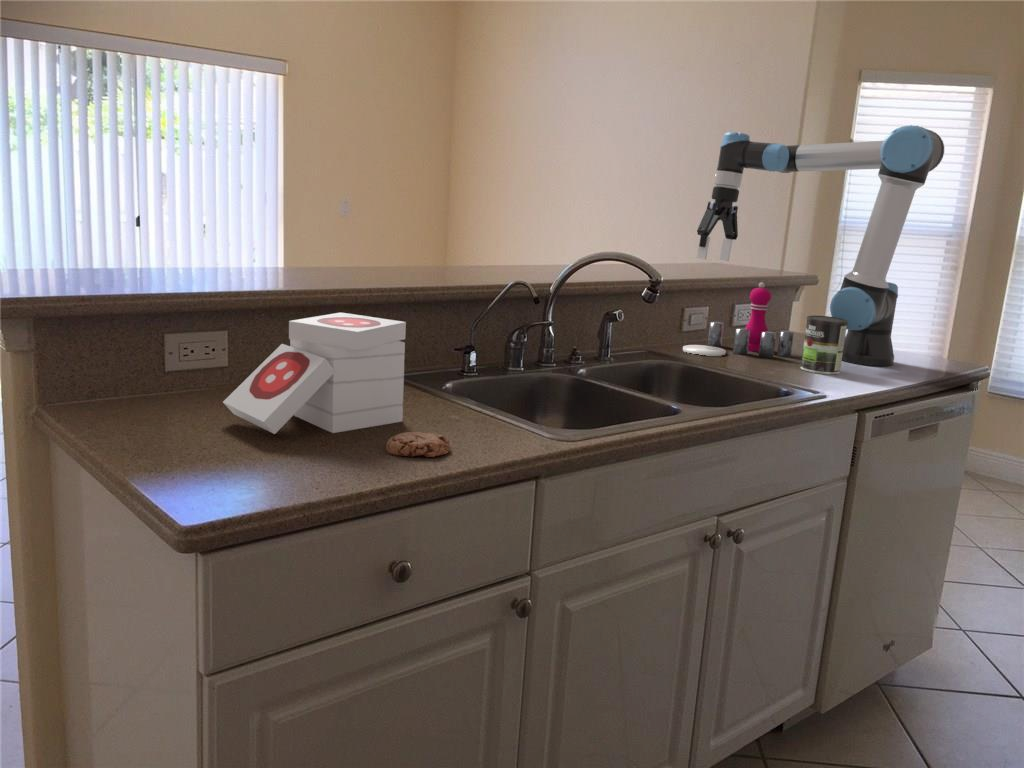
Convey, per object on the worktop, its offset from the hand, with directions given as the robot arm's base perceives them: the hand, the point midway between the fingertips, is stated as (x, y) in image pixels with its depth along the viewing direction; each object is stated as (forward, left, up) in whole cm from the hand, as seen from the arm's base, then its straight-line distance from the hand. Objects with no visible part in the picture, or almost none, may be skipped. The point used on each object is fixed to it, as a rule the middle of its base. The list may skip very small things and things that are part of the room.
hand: (712, 259), depth 266 cm
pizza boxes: (-79, +122, -25) cm, 147 cm away
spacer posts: (-13, -8, -25) cm, 29 cm away
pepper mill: (-11, -11, -25) cm, 29 cm away
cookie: (-98, +108, -26) cm, 148 cm away
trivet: (-15, +8, -25) cm, 30 cm away
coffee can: (-40, -13, -25) cm, 49 cm away
